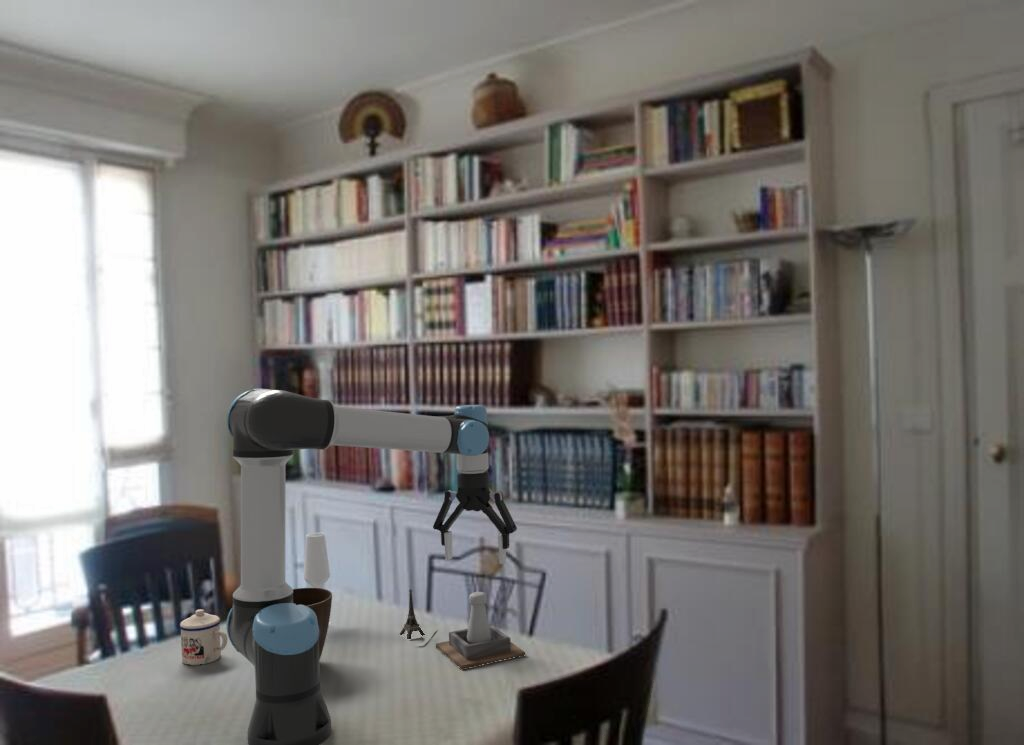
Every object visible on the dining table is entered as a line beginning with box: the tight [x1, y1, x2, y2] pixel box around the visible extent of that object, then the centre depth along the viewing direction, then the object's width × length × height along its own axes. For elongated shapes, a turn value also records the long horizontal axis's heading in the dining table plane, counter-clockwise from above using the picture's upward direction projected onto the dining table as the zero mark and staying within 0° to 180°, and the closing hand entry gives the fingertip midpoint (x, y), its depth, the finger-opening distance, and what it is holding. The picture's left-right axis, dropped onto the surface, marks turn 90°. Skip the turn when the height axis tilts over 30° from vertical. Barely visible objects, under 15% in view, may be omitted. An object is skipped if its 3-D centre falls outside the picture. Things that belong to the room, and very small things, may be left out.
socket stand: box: [435, 623, 526, 670], centre depth 192 cm, size 16×16×4 cm
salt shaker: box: [467, 591, 492, 644], centre depth 192 cm, size 6×6×13 cm
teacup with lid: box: [179, 609, 228, 666], centre depth 193 cm, size 12×9×12 cm
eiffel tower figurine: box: [399, 585, 425, 639], centre depth 204 cm, size 15×10×13 cm
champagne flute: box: [303, 532, 332, 627], centre depth 215 cm, size 7×7×24 cm
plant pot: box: [292, 587, 333, 662], centre depth 187 cm, size 15×15×16 cm
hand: (475, 561), depth 191 cm, fingers open, 13 cm apart
